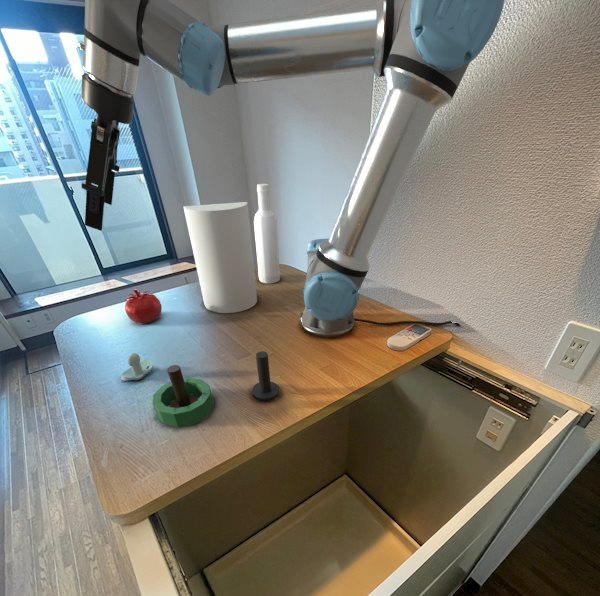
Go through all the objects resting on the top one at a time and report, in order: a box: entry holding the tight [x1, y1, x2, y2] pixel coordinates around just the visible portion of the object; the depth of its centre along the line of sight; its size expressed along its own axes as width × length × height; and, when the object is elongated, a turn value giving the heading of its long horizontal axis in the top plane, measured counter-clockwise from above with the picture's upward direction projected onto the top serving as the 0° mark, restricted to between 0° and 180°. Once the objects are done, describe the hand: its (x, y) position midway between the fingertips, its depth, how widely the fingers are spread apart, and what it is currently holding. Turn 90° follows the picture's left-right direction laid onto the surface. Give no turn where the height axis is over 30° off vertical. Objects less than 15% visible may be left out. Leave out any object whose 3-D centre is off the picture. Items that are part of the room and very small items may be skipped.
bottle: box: [253, 183, 281, 285], centre depth 112 cm, size 8×8×30 cm
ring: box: [152, 376, 215, 428], centre depth 67 cm, size 11×11×4 cm
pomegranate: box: [124, 288, 163, 325], centre depth 96 cm, size 10×10×9 cm
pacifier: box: [121, 352, 154, 382], centre depth 75 cm, size 7×6×6 cm
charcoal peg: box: [251, 350, 280, 403], centre depth 68 cm, size 6×6×10 cm
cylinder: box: [183, 201, 258, 314], centre depth 98 cm, size 17×17×28 cm
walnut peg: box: [166, 364, 200, 408], centre depth 65 cm, size 6×6×10 cm
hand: (99, 213), depth 66 cm, fingers open, 13 cm apart
